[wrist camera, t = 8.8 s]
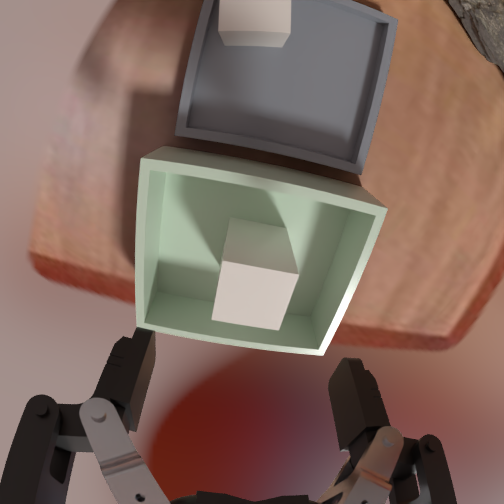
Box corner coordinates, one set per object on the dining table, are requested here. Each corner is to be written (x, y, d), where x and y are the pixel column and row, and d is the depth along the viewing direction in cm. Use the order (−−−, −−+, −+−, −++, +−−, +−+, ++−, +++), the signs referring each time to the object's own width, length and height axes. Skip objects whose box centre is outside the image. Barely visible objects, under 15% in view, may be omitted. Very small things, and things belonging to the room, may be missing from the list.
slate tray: (215, -21, 13) (212, -30, 12) (388, 24, 14) (398, 19, 13) (179, 133, 18) (174, 135, 17) (353, 170, 19) (361, 175, 18)
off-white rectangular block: (229, 216, 20) (222, 260, 15) (286, 228, 21) (299, 274, 15) (219, 266, 22) (211, 319, 17) (272, 276, 23) (278, 330, 17)
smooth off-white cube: (227, -8, 13) (221, -32, 9) (283, -6, 13) (291, -29, 10) (224, 45, 15) (218, 30, 11) (282, 47, 15) (290, 33, 11)
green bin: (163, 145, 18) (140, 158, 14) (362, 186, 20) (387, 208, 16) (152, 291, 24) (136, 327, 20) (313, 318, 25) (322, 355, 21)
